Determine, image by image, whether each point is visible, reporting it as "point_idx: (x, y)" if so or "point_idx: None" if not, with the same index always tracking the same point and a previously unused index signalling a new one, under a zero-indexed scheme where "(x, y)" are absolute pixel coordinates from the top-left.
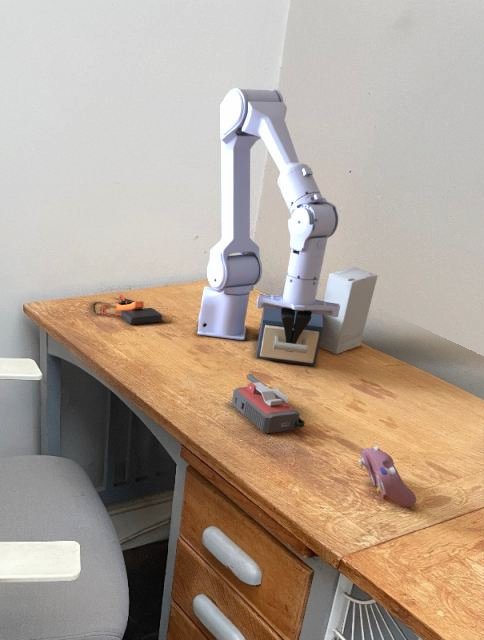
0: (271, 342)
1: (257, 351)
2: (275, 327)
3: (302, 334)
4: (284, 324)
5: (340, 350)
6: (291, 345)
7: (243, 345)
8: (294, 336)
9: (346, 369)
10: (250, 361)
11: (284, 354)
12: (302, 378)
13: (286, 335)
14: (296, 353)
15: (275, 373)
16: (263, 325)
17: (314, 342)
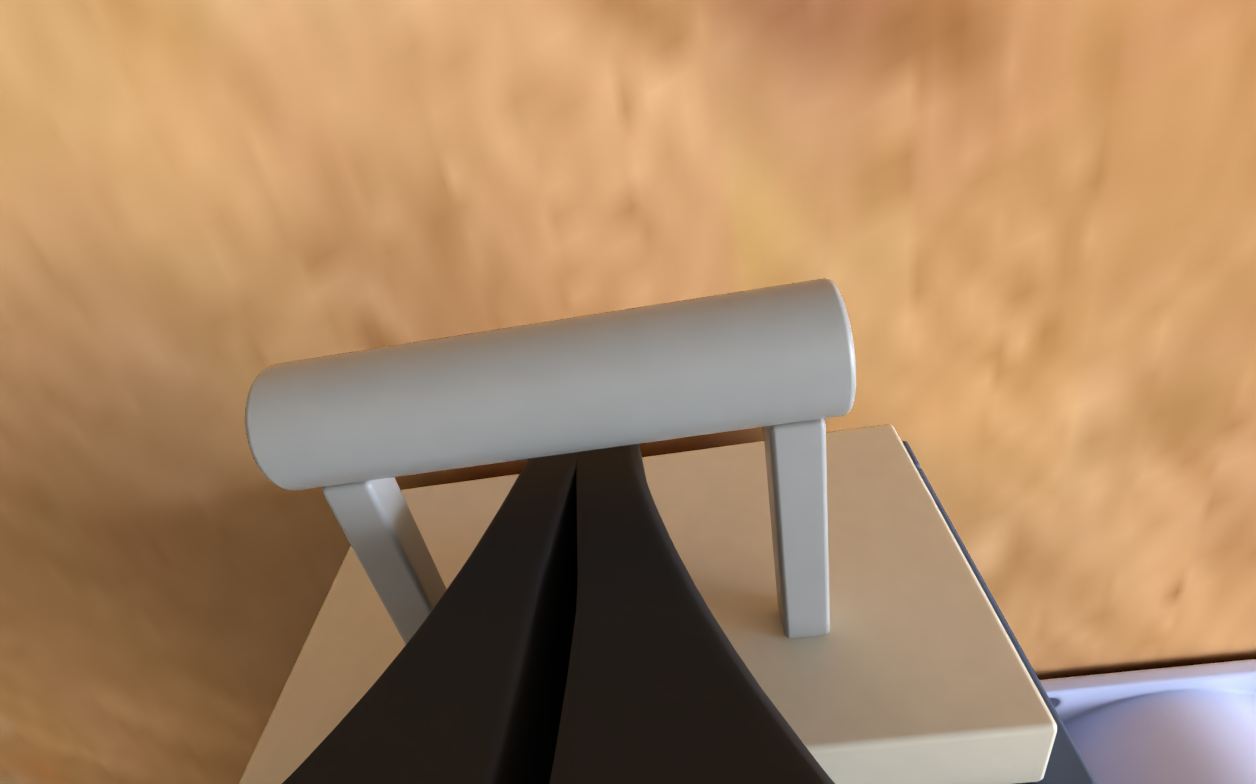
0: (843, 555)
1: (930, 485)
2: (886, 761)
3: None
4: (792, 773)
5: None
6: (521, 377)
7: (1009, 620)
8: (516, 593)
9: (141, 553)
10: (967, 346)
11: (652, 489)
12: (365, 164)
13: (667, 576)
14: None
15: (678, 153)
16: (1065, 767)
17: (317, 671)
